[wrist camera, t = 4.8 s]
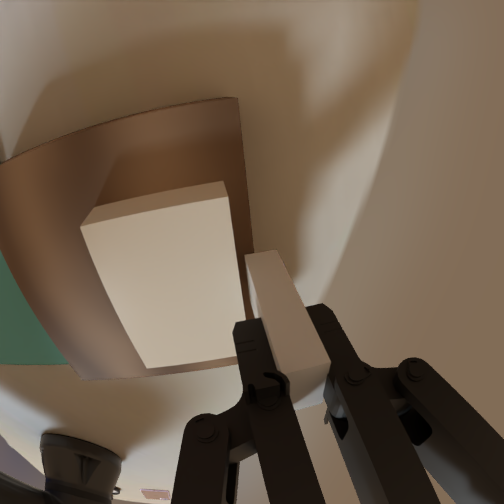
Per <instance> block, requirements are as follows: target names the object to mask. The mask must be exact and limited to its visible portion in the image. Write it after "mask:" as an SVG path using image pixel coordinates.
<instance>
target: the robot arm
mask: <svg viewBox="0 0 504 504" xmlns="http://www.w3.org/2000/svg"><path fill="white" fill-rule="evenodd" d="M244 256H245V264H246V272H247V280H248V289H249V297H250V302H251V306H252V309H253V313H254V316H255V318H254V319H249V320H244V321H239V322H236V323H235V326H234V329H233V332H232V334H233V340H234V345H235V350H236V355H237V360H238V365H239V370H240V375H241V380H242V385H243V393H242V397H241V398H240V400H239V402H238V403H237V404H236V405H235V406H234V407H232V408H230V409H229V410H227V411H225V412H223V413H220V414H218V415H214V414H210V413H207V414H200V415H197V416H195V417H193V418H192V419H191V420H190V421H189V422H188V423H187V425H186V427H185V429H184V434H183V439H182V444H181V449H180V455H179V460H178V465H177V471H176V476H175V482H174V488H173V493H172V499H171V504H236V500H237V499H236V498H237V488H238V476H239V465H240V461H242V460H243V459H245V458H248V457H249V456H251V455H253V454H255V453H258V457H259V461H260V466H261V469H262V474H263V478H264V482H265V486H266V490H267V494H268V498H269V502H270V504H326V503H325V500H324V497H323V494H322V491H321V488H320V485H319V483H318V480H317V476H316V473H315V470H314V467H313V464H312V462H311V459H310V455H309V452H308V449H307V447H306V443H305V441H304V437H303V435H302V431H301V429H300V425H299V422H298V419H297V416H296V414H295V410H299V409H303V408H306V407H310V406H314V405H317V404H320V403H322V401H323V397H324V399H325V402H326V404H327V407H328V408H327V411H326V414H325V418H324V422H325V424H327V423H328V421H329V422H330V425H331V428H332V430H333V433H334V435H335V438H336V440H337V443H338V446H339V448H340V451H341V454H342V456H343V459H344V461H345V464H346V467H347V469H348V472H349V474H350V477H351V480H352V482H353V485H354V488H355V490H356V493H357V495H358V498H359V501H360V503H361V504H440V501H439V499H438V497H437V495H436V492H435V490H434V488H433V486H432V484H431V482H430V479H429V477H428V475H427V473H426V471H425V469H426V470H427V471H428V472H429V473H430V474H431V475H432V477H433V478H434V479H435V480H436V481H437V482H438V483H439V484H440V486H441V487H442V488H443V489H444V490H445V491H446V492H447V493H448V495H449V496H450V497H451V498H452V499H453V500H454V502H455V503H456V504H504V439H503V438H502V437H501V436H500V435H499V434H498V433H497V432H496V431H495V430H494V429H493V428H492V427H491V426H490V425H489V424H488V423H487V421H486V420H484V418H483V417H482V416H481V415H480V414H479V413H478V412H477V411H476V410H475V409H474V408H473V407H472V406H471V405H470V404H469V403H468V402H467V401H466V400H465V399H464V398H463V397H462V396H461V395H460V394H459V393H458V392H457V391H456V390H455V389H454V388H453V387H451V385H450V384H449V383H448V382H447V381H446V380H445V379H443V378H442V377H441V376H440V375H439V374H438V373H437V372H436V371H435V370H434V369H433V368H432V367H431V366H430V365H429V364H428V363H427V362H425V361H424V360H422V359H419V358H407V359H405V360H403V361H402V362H401V363H400V365H399V366H398V367H395V368H374V367H371V366H370V365H368V364H366V363H365V362H362V361H361V360H360V358H359V357H358V355H357V354H356V352H355V350H354V348H353V346H352V345H351V343H350V341H349V339H348V338H347V336H346V334H345V332H344V330H342V327H341V325H340V323H339V322H338V320H337V318H336V316H335V314H334V313H333V311H332V310H331V309H330V308H328V307H327V306H326V305H324V304H323V303H321V304H317V305H312V306H308V307H305V306H304V304H303V302H302V300H301V298H300V296H299V294H298V292H297V290H296V288H295V286H294V284H293V282H292V280H291V278H290V276H289V274H288V272H287V270H286V268H285V266H284V264H283V262H282V259H281V257H280V255H279V253H278V251H277V249H275V250H270V251H264V252H258V253H252V254H247V255H244ZM40 452H41V456H42V463H43V468H44V473H45V478H46V480H45V491H43V490H40V489H38V488H36V487H33V486H31V485H29V484H26V483H24V482H22V481H19V480H17V479H15V478H13V477H11V476H9V475H7V474H5V473H3V472H1V471H0V504H111V497H112V493H113V491H114V488H115V485H116V483H117V480H118V478H119V475H120V473H121V459H120V458H119V457H118V456H117V455H116V454H114V453H112V452H110V451H108V450H106V449H104V448H102V447H99V446H97V445H94V444H91V443H88V442H85V441H82V440H78V439H75V438H71V437H67V436H62V435H55V434H45V435H43V436H42V437H41V441H40ZM423 466H424V467H425V469H424V467H423Z"/></svg>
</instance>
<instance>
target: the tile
mask: <svg viewBox="0 0 504 504" xmlns="http://www.w3.org/2000/svg"><path fill="white" fill-rule="evenodd" d="M80 229H81V231H82V234H83V237H84V239H85V242H86V245H87V247H88V250H89V252H90V255H91V257H92V260H93V262H94V265H95V267H96V269H97V272H98V274H99V276H100V279H101V281H102V283H103V285H104V288H105V290H106V292H107V294H108V296H109V298H110V301H111V303H112V305H113V307H114V309H115V311H116V313H117V315H118V317H119V319H120V321H121V323H122V325H123V327H124V329H125V330H126V332H127V334H128V336H129V338H130V340H131V342H132V343H133V345H134V347H135V349H136V351H137V352H138V354H139V356H140V358H141V359H142V361H143V363H144V364H145V366H146V368H157V367H165V366H174V365H181V364H189V363H196V362H203V361H209V360H215V359H221V358H227V357H233V356H237V355H236V350H235V345H234V340H233V334H232V332H233V329H234V326H235V323H236V322H239V321H244V320H246V318H245V311H244V305H243V298H242V291H241V284H240V278H239V271H238V264H237V257H236V250H235V243H234V236H233V229H232V221H231V214H230V207H229V199H228V195H227V191H226V188H225V185H224V182H223V181H219V182H213V183H207V184H201V185H195V186H190V187H184V188H179V189H174V190H169V191H164V192H159V193H154V194H149V195H144V196H140V197H135V198H131V199H126V200H122V201H118V202H113V203H109V204H105V205H101V206H97V207H94V208H93V209H92V211H91V212H90V213H89V215H88V216H87V217H86V219H85V220H84V222H83V223H82V224H81V226H80Z"/></svg>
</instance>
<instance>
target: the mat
mask: <svg viewBox="0 0 504 504" xmlns="http://www.w3.org/2000/svg"><path fill="white" fill-rule="evenodd" d="M0 364H14V365H55V364H69V363H68V362H67V360H66V359H65V358H64V356H63V355H62V354H61V352H60V351H59V350H58V348H57V347H56V345H55V344H54V343H53V341H52V340H51V338H50V337H49V335H48V334H47V333H46V331H45V330H44V328H43V327H42V325H41V323H40V322H39V320H38V319H37V317H36V316H35V314H34V312H33V311H32V309H31V307H30V306H29V304H28V302H27V301H26V299H25V297H24V296H23V294H22V292H21V290H20V288H19V287H18V285H17V283H16V281H15V279H14V277H13V275H12V273H11V271H10V269H9V267H8V265H7V263H6V261H5V259H4V257H3V255H2V253H1V250H0Z"/></svg>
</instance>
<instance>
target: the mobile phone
mask: <svg viewBox="0 0 504 504" xmlns="http://www.w3.org/2000/svg"><path fill="white" fill-rule="evenodd" d="M140 491H141V492H142V493H143V495H144V496H145V498H147V499H161V500H170V495H169V491H166V490H151V489H140Z"/></svg>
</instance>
